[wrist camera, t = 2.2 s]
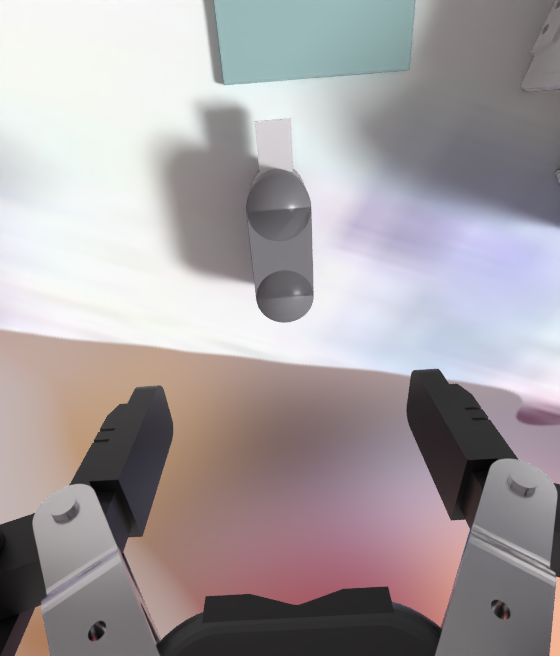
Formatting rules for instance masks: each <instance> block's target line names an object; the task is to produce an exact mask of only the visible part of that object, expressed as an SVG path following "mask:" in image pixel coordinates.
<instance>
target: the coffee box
mask: <svg viewBox="0 0 560 656" xmlns="http://www.w3.org/2000/svg"><path fill="white" fill-rule="evenodd" d="M556 177H557V179H558V182H559V184H560V169H559V170H557V171H556Z"/></svg>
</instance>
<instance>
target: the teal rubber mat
mask: <svg viewBox="0 0 560 656" xmlns="http://www.w3.org/2000/svg"><path fill="white" fill-rule="evenodd" d="M214 5H215V14H216V22H217V30H218V38H219V47H220V55H221V63H222V72H223V80H224V85H233V84H245V83H257V82H270V81H282V80H294V79H307V78H319V77H331V76H344V75H356V74H368V73H381V72H393V71H405V70H409V67H410V55H411V44H412V32H413V20H414V9H415V0H214Z"/></svg>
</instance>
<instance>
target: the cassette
mask: <svg viewBox="0 0 560 656" xmlns="http://www.w3.org/2000/svg"><path fill="white" fill-rule="evenodd" d="M530 54H532V55H533V56H534V57H533V60H532V62H531V64H530V66H529V69H528V71H527V73H526V75H525V77H524V79H523V81H522V83H521V88H523V89H524V90H525V91H528V92H530V91H532V92H533V91H544V90H556V89H560V0H555V2H554V4H553V6H552V8H551V10H550V12H549V14H548V17H547V19H546V21H545V23H544V25H543V27H542V29H541V31H540V34H539V36H538V38H537V40H536V42H535V44H534V46H533V48H532V50H531V53H530Z"/></svg>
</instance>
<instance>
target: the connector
mask: <svg viewBox="0 0 560 656" xmlns="http://www.w3.org/2000/svg"><path fill="white" fill-rule="evenodd" d="M255 129H256V140H257V152H258V163H259V172H258V173H257V174H256V176H255V178H254V180H253V182H252V186H251V189H250V193H249V196H248V200H247V206H246V210H247V220H248V229H249V238H250V247H251V256H252V265H253V274H254V283H255V292H256V300H257V304H258V307H259V309H260V310H261V312H262V313H263V314H264V315H265V316H266V317H268V318H269V319H271V320H274V321H277V322H292V321H295V320H298V319H300V318H301V317H303V316H304V315H305V314H306V313H307V312H308V311H309V309H310V308H311V306H312V303H313V258H312V219H311V201H310V198H309V195H308V192H307V190H306V188H305V186H304V184H303V181H302V179H301V177H300V175H299V174H298V173H297V172H296V170H294V169H293V157H292V136H291V119H278V120H265V121H255Z"/></svg>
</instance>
